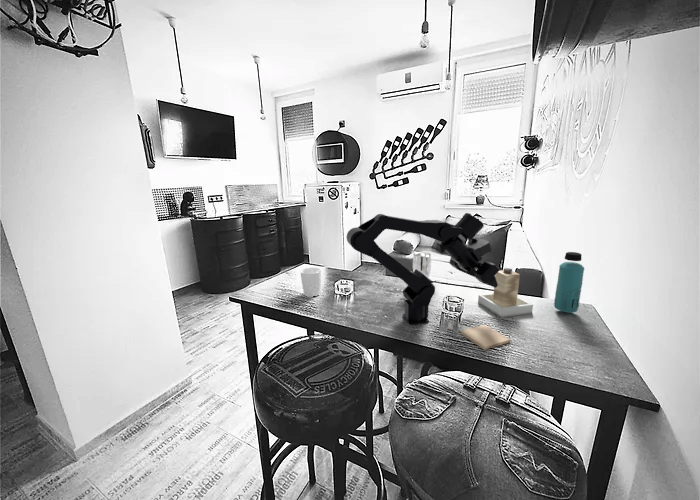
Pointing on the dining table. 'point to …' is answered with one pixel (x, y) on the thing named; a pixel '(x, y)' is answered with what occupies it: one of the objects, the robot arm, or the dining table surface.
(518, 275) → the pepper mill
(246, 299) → the dining table surface
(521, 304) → the tray
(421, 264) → the beer glass
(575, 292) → the beverage bottle
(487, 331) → the cork coaster
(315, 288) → the white cup
